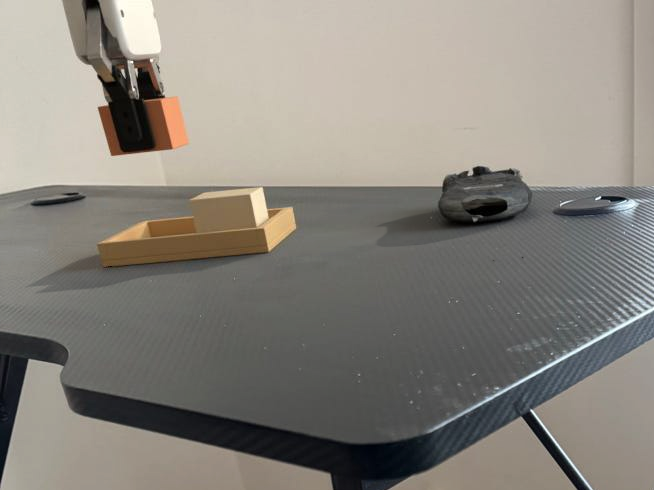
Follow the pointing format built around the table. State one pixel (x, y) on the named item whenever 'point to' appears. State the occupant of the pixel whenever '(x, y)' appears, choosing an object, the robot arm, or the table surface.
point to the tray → (192, 240)
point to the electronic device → (498, 187)
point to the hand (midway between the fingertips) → (149, 145)
